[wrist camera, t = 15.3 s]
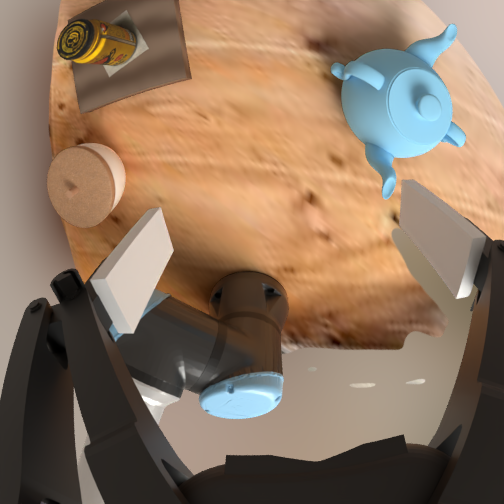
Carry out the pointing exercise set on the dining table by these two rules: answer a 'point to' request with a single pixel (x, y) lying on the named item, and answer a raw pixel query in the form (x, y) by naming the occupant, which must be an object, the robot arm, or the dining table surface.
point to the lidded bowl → (86, 183)
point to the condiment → (102, 42)
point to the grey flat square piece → (143, 66)
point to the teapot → (398, 103)
